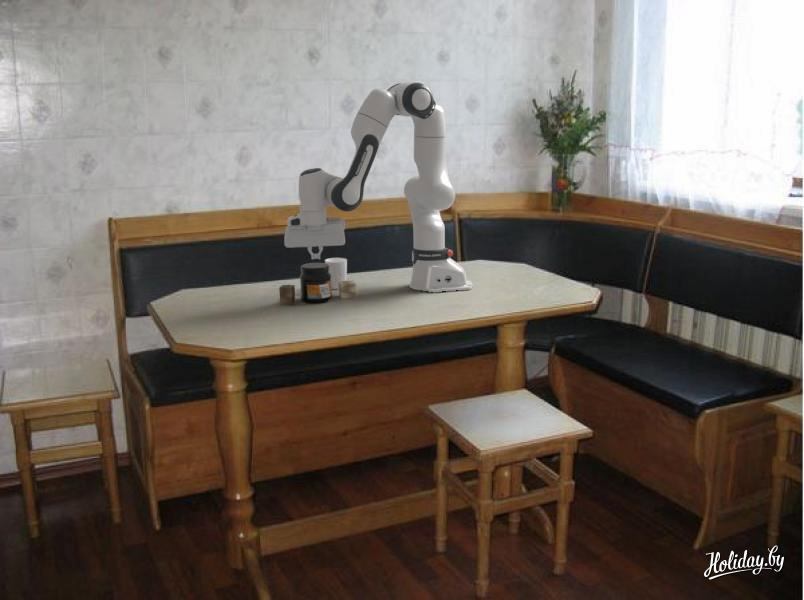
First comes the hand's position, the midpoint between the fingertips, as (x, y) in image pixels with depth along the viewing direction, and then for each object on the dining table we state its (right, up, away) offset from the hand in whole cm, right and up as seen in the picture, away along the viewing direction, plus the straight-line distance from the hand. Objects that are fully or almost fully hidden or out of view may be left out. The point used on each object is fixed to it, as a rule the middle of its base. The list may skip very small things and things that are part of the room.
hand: (315, 259), depth 285 cm
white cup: (+5, -9, +21) cm, 24 cm away
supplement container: (0, -14, +3) cm, 14 cm away
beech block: (+10, -12, +8) cm, 18 cm away
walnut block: (-9, -15, -1) cm, 18 cm away
